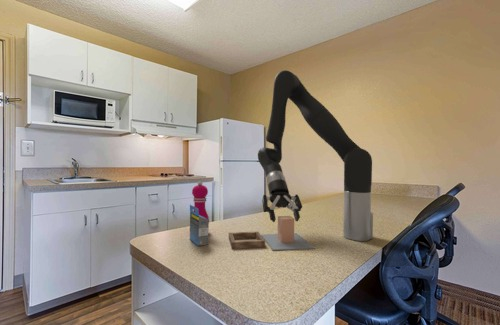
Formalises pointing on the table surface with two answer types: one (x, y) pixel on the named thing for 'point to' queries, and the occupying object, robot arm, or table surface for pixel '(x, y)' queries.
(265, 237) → the slate mat
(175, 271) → the table surface
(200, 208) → the pepper mill
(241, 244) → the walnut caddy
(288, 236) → the terracotta block
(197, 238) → the label tape cartridge
